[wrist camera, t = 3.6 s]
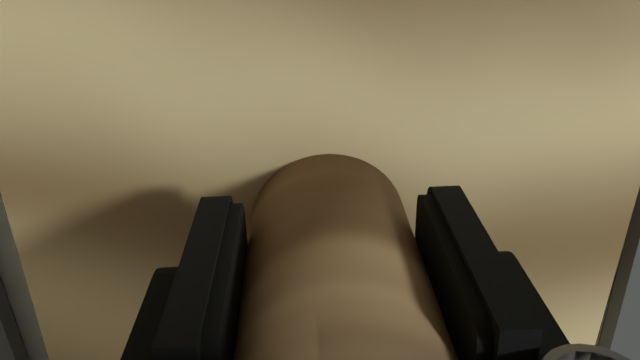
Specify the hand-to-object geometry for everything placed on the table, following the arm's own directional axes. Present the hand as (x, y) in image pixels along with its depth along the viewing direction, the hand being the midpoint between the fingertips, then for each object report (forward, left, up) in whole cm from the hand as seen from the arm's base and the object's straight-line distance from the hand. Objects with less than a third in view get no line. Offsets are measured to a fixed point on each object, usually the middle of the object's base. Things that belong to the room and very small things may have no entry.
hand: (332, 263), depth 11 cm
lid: (0, 0, -3) cm, 3 cm away
